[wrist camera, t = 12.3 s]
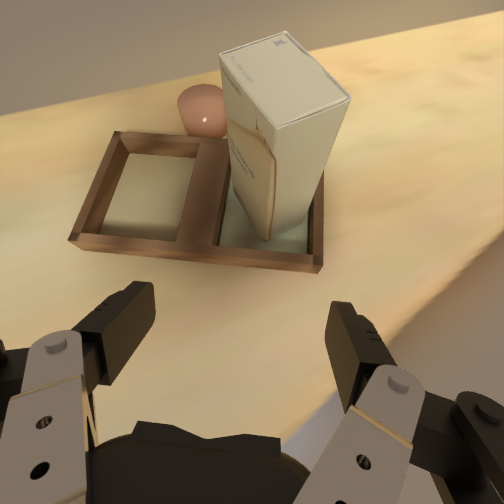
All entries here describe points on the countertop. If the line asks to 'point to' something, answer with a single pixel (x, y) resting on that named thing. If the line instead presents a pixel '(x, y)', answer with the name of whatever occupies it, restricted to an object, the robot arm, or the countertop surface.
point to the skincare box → (278, 128)
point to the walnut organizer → (198, 212)
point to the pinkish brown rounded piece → (203, 111)
